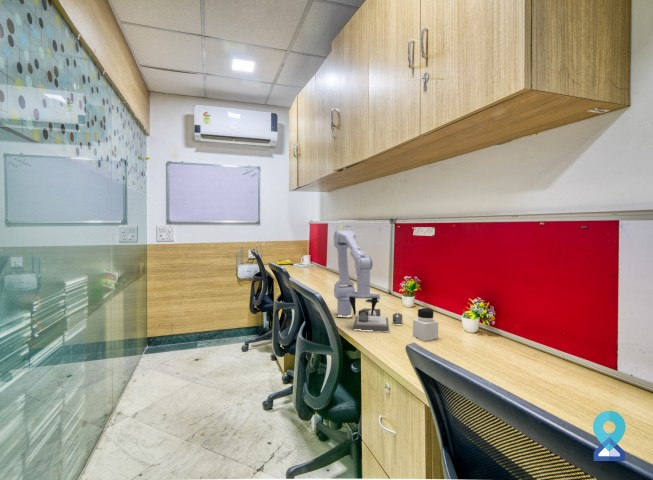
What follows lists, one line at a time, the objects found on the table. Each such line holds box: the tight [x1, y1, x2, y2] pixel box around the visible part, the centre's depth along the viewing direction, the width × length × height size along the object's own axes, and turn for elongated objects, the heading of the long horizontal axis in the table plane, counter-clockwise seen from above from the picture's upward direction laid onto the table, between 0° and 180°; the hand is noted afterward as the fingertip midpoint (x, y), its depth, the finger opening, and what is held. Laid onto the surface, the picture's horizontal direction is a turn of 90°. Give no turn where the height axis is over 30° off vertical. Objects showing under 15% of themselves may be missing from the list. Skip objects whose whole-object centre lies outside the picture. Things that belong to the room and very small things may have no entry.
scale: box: [353, 307, 390, 333], centre depth 144 cm, size 17×15×6 cm
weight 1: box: [358, 308, 368, 322], centre depth 141 cm, size 4×4×5 cm
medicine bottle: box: [412, 307, 439, 342], centre depth 128 cm, size 7×7×12 cm
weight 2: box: [392, 312, 403, 325], centre depth 147 cm, size 4×4×5 cm
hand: (363, 314), depth 140 cm, fingers open, 7 cm apart
